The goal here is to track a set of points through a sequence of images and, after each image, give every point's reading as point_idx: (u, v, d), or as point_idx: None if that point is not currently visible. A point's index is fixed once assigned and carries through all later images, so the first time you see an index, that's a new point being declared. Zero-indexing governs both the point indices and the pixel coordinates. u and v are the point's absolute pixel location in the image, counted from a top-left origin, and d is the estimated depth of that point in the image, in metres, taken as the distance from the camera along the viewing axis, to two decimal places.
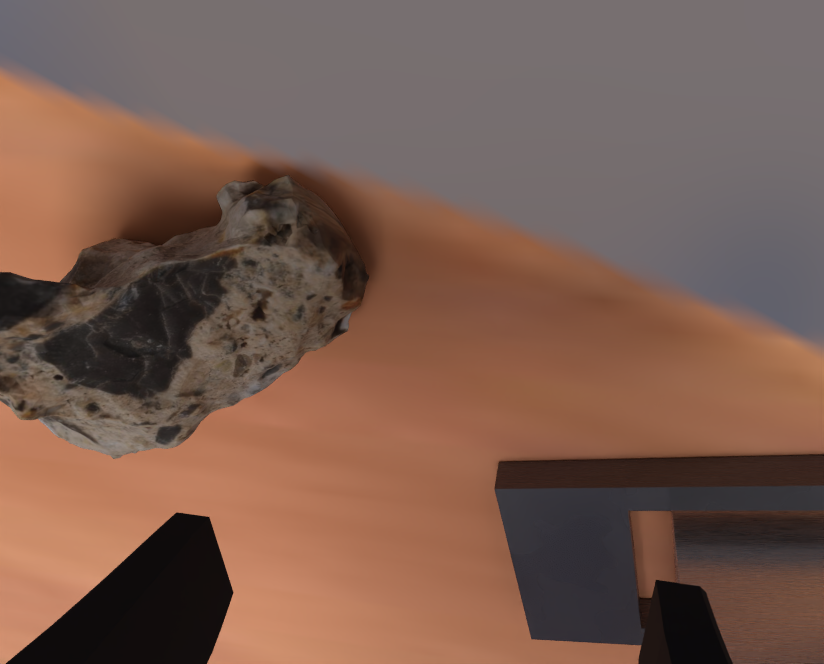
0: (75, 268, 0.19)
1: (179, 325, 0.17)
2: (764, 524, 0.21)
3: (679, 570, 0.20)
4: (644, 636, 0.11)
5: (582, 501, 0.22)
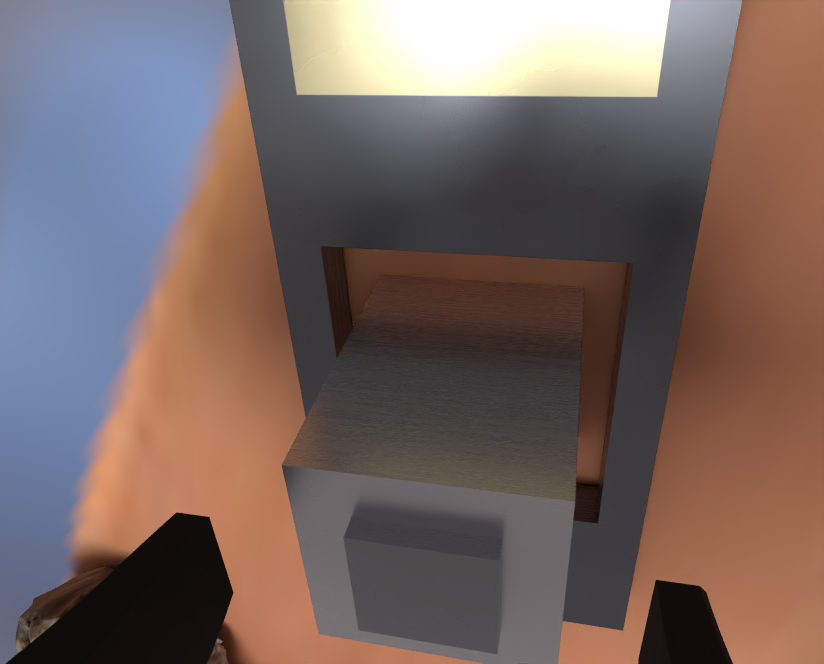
0: None
1: None
2: None
3: None
4: (644, 636, 0.11)
5: None
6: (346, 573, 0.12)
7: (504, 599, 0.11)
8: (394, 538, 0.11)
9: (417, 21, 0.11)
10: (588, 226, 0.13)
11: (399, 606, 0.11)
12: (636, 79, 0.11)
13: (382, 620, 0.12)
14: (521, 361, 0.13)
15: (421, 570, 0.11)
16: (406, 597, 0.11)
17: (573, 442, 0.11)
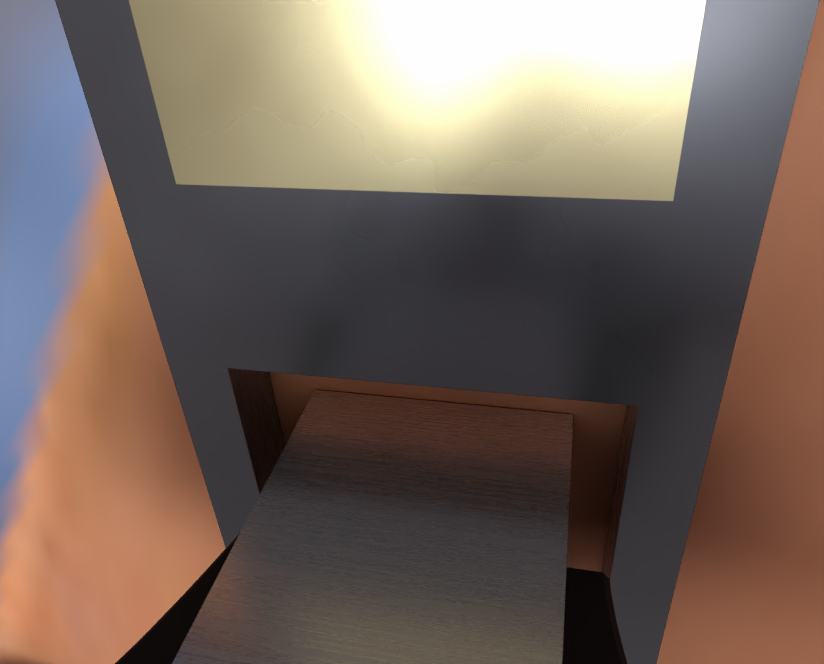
0: None
1: None
2: None
3: None
4: None
5: None
6: None
7: None
8: None
9: (332, 92, 0.08)
10: (577, 359, 0.09)
11: None
12: (643, 175, 0.08)
13: None
14: (487, 545, 0.09)
15: None
16: None
17: None
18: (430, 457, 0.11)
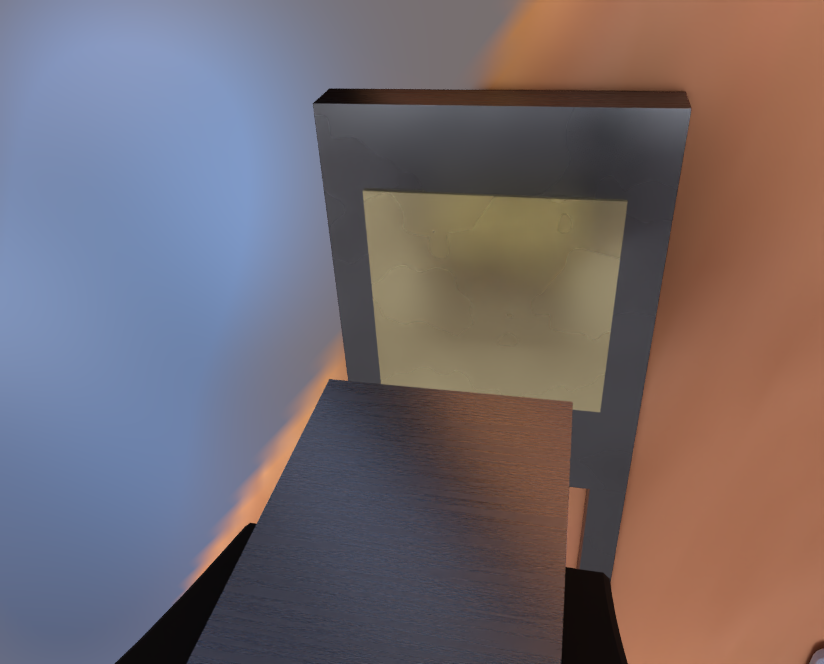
0: None
1: None
2: None
3: None
4: None
5: None
6: None
7: None
8: None
9: (458, 364, 0.19)
10: None
11: None
12: (588, 401, 0.19)
13: None
14: (493, 520, 0.10)
15: None
16: None
17: (555, 660, 0.08)
18: (439, 440, 0.11)
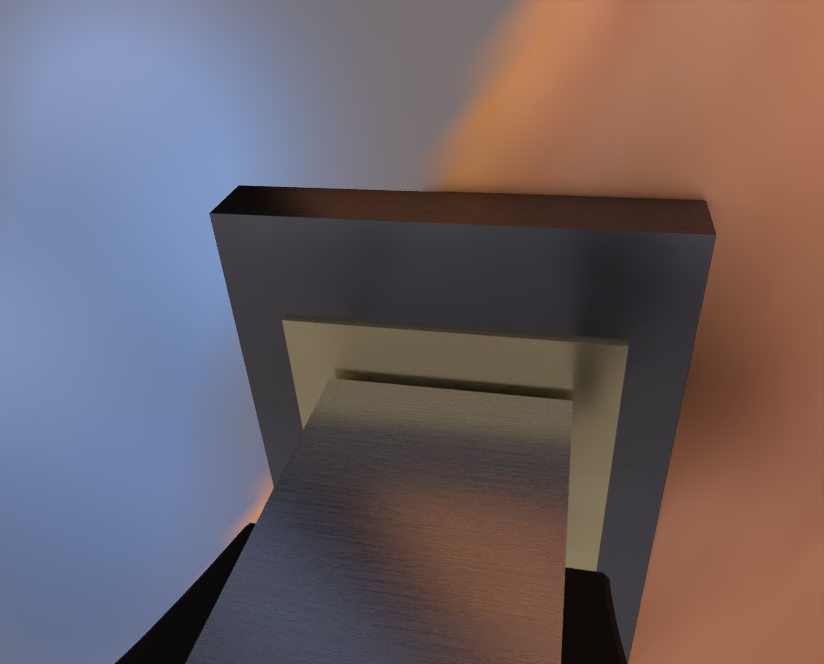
0: None
1: None
2: None
3: None
4: None
5: None
6: None
7: None
8: None
9: None
10: None
11: None
12: (580, 565, 0.15)
13: None
14: (493, 519, 0.10)
15: None
16: None
17: (555, 658, 0.08)
18: (439, 439, 0.11)
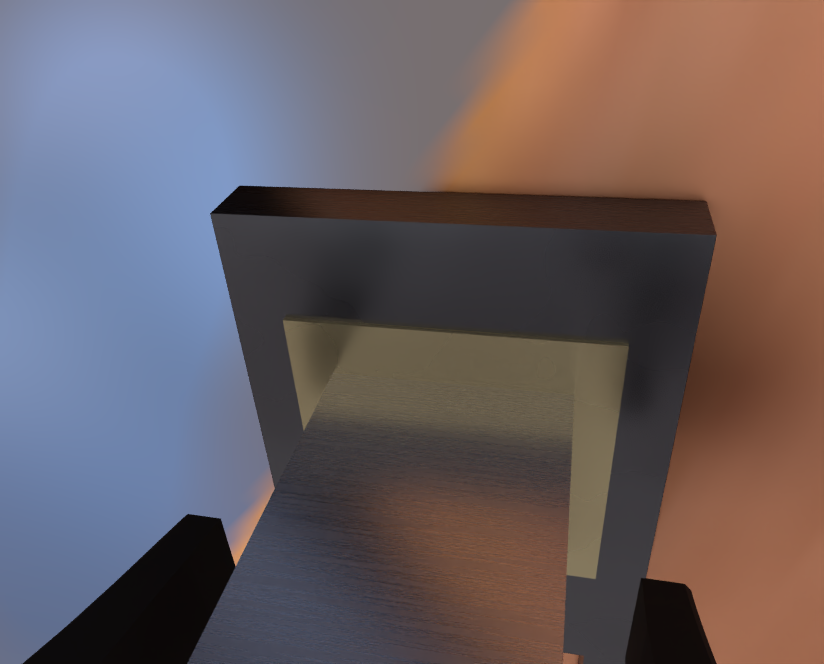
0: None
1: None
2: None
3: None
4: (630, 634, 0.11)
5: None
6: None
7: None
8: None
9: None
10: None
11: None
12: (580, 565, 0.15)
13: None
14: (495, 510, 0.10)
15: None
16: None
17: (557, 646, 0.08)
18: (442, 433, 0.12)
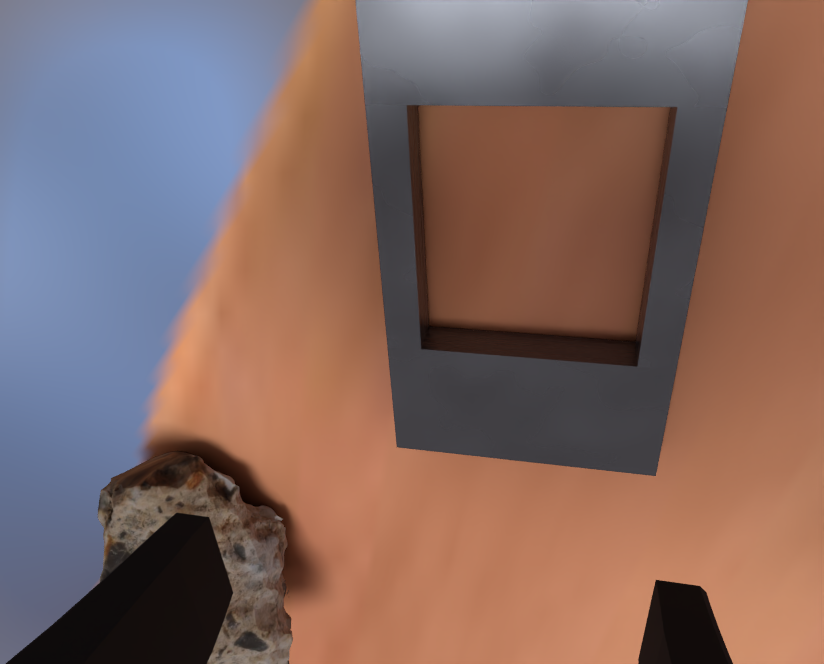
0: None
1: None
2: None
3: None
4: (644, 636, 0.11)
5: (409, 384, 0.21)
6: None
7: None
8: None
9: None
10: (640, 74, 0.15)
11: None
12: None
13: None
14: None
15: None
16: None
17: None
18: None
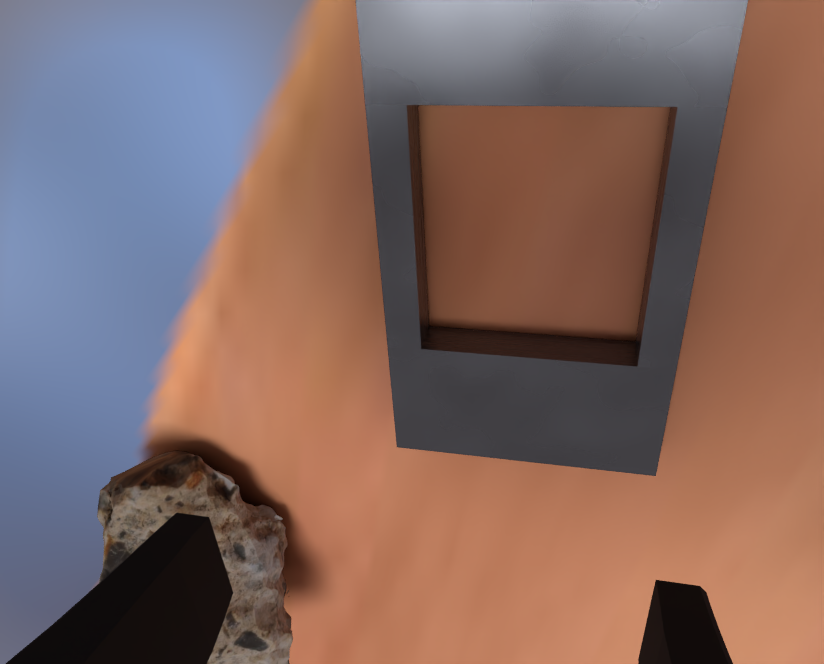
0: None
1: None
2: None
3: None
4: (644, 636, 0.11)
5: (409, 383, 0.21)
6: None
7: None
8: None
9: None
10: (640, 73, 0.15)
11: None
12: None
13: None
14: None
15: None
16: None
17: None
18: None
